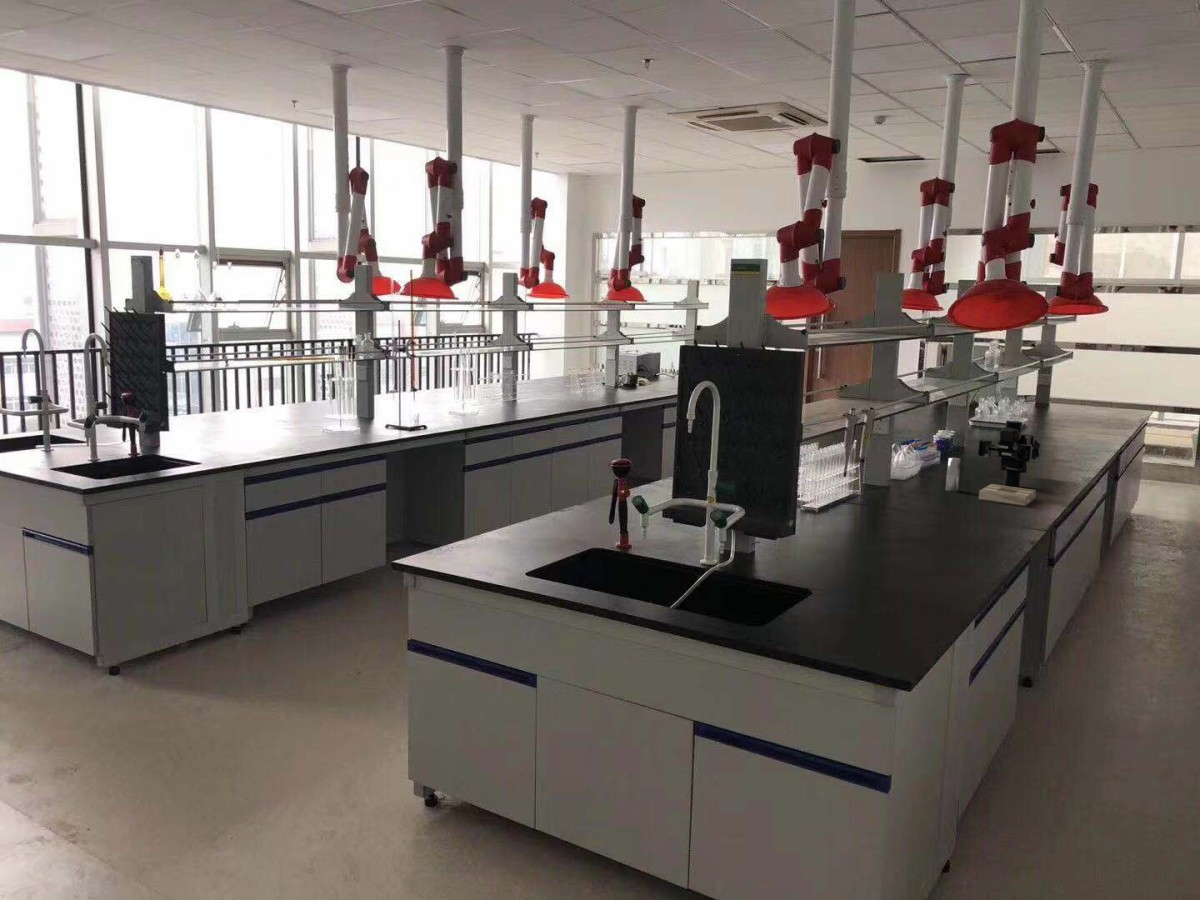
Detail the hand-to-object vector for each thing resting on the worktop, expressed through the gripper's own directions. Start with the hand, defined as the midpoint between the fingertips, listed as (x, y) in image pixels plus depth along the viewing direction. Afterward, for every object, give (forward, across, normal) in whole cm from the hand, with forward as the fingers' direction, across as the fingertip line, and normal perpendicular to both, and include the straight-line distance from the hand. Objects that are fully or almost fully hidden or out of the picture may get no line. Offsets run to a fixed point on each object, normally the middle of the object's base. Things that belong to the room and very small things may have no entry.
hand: (998, 453), depth 347 cm
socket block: (+3, +5, +16) cm, 17 cm away
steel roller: (+1, -16, +16) cm, 23 cm away
